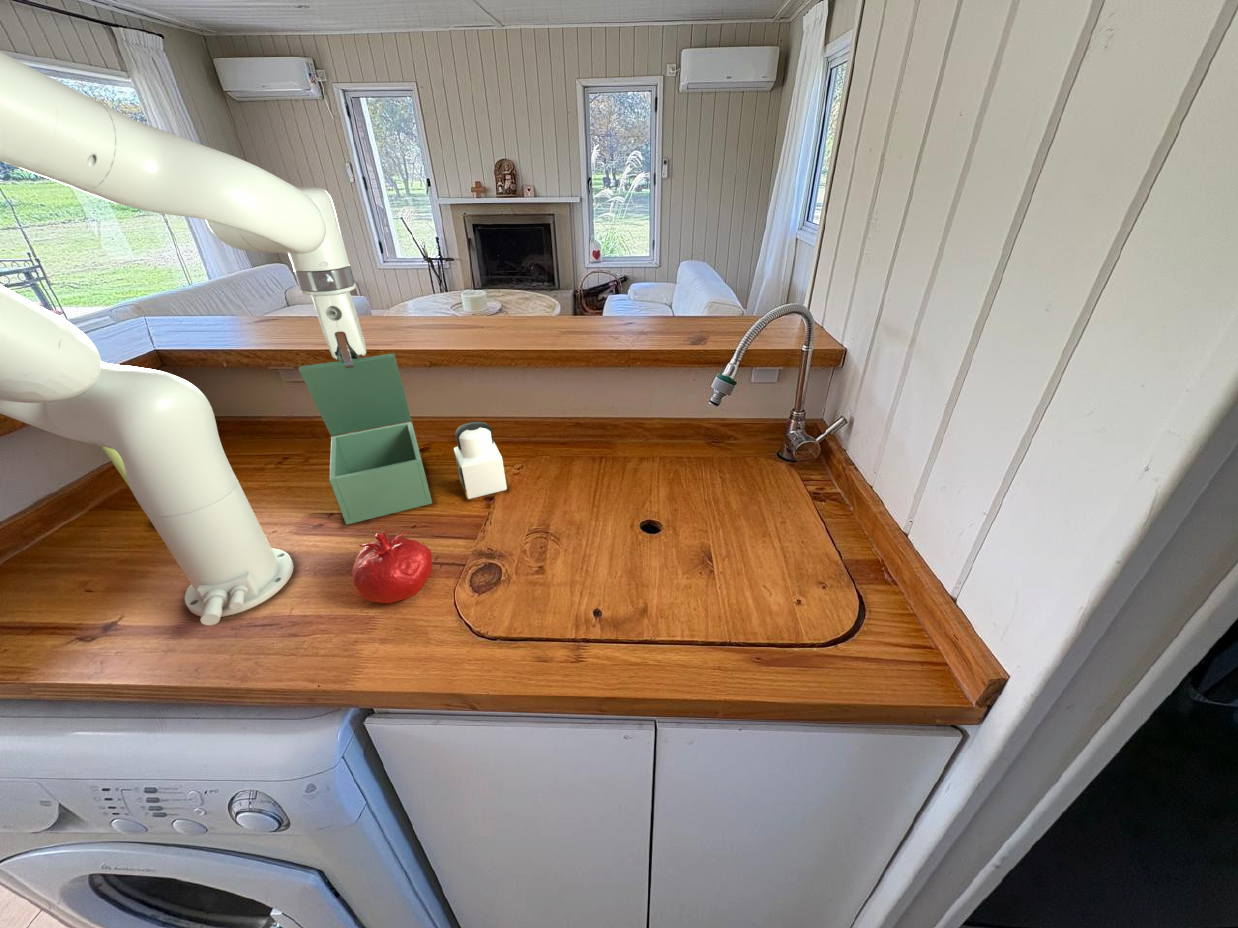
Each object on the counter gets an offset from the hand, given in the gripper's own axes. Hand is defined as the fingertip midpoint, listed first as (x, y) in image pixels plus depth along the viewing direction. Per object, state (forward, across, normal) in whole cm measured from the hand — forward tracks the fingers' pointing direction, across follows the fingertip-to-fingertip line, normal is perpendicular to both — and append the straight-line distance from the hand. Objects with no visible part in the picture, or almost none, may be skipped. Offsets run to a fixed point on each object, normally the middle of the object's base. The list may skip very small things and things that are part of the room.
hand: (359, 391), depth 85 cm
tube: (+17, +2, +33) cm, 37 cm away
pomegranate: (+17, -32, 0) cm, 36 cm away
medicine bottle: (+17, -12, -16) cm, 26 cm away
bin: (+17, -6, 0) cm, 18 cm away
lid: (0, -2, 0) cm, 2 cm away
